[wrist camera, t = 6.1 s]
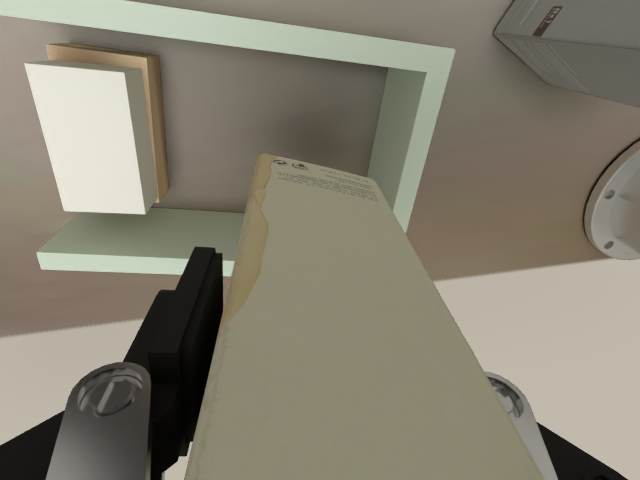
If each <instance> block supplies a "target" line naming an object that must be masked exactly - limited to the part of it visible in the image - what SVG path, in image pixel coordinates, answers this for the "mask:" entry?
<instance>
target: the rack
mask: <svg viewBox="0 0 640 480" xmlns="http://www.w3.org/2000/svg"><path fill="white" fill-rule="evenodd" d="M0 15H4V16H11V17H19V18H26V19H34V20H41V21H49V22H56V23H64V24H71V25H78V26H86V27H93V28H101V29H108V30H116V31H123V32H130V33H138V34H145V35H153V36H160V37H168V38H175V39H183V40H190V41H197V42H205V43H212V44H220V45H227V46H235V47H242V48H250V49H257V50H264V51H272V52H279V53H287V54H294V55H302V56H309V57H316V58H324V59H331V60H339V61H346V62H354V63H361V64H369V65H376V66H383V67H388V72H387V77H386V82H385V87H384V93H383V98H382V103H381V108H380V113H379V118H378V123H377V128H376V133H375V138H374V144H373V149H372V154H371V159H370V164H369V169H368V174H367V178H371V179H373V180H374V181H375V182H376V183H377V185H378V186H379V188H380V190H381V192H382V193H383V195H384V197H385V199H386V201H387V202H388V204H389V206H390V208H391V210H392V211H393V213H394V215H395V217H396V218H397V220H398V222H399V224H400V225H401V227H402V229H403V231H404V233H405V234H406V231H407V227H408V223H409V220H410V216H411V212H412V209H413V205H414V201H415V198H416V194H417V190H418V187H419V183H420V179H421V176H422V172H423V168H424V164H425V161H426V157H427V153H428V150H429V146H430V142H431V139H432V135H433V131H434V128H435V124H436V120H437V117H438V113H439V109H440V106H441V102H442V98H443V95H444V91H445V87H446V84H447V80H448V76H449V73H450V69H451V65H452V62H453V58H454V54H455V51H456V49H452V48H445V47H438V46H431V45H424V44H418V43H411V42H404V41H397V40H390V39H384V38H377V37H370V36H363V35H356V34H350V33H343V32H336V31H329V30H322V29H316V28H309V27H302V26H295V25H288V24H282V23H275V22H268V21H261V20H254V19H248V18H241V17H234V16H227V15H220V14H213V13H207V12H200V11H193V10H186V9H179V8H173V7H166V6H159V5H152V4H145V3H139V2H132V1H125V0H0ZM244 216H245V213H233V212H217V211H202V210H186V209H171V208H155V207H150V209H149V210H148V212H147V213H146V214H123V213H99V212H80V213H79V214H77V215H76V216H75V217H74V218H73V219H72V220H71V221H70V222H69V223H68V224H66V225H65V226H64V227H63V228H62V229H61V230H60V231H59V232H58V233H57V234H56V235H54V236H53V237H52V238H51V239H50V240H49V241H48V242H47V243H46V244H45V245H44V246H42V247H41V248H40V249H39V250H38V251H37V252H36V253H37V257H38V260H39V263H40V267H41V269H47V270H74V271H100V272H127V273H153V274H180V275H182V274H183V272H184V269H185V267H186V265H187V263H188V260H189V258H190V256H191V254H192V251H193V249H194V247H196V246H197V247H212V248H215V249H216V253H222V255H223V276H231V274H232V270H233V266H234V261H235V257H236V252H237V248H238V243H239V239H240V234H241V230H242V225H243V221H244Z"/></svg>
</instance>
